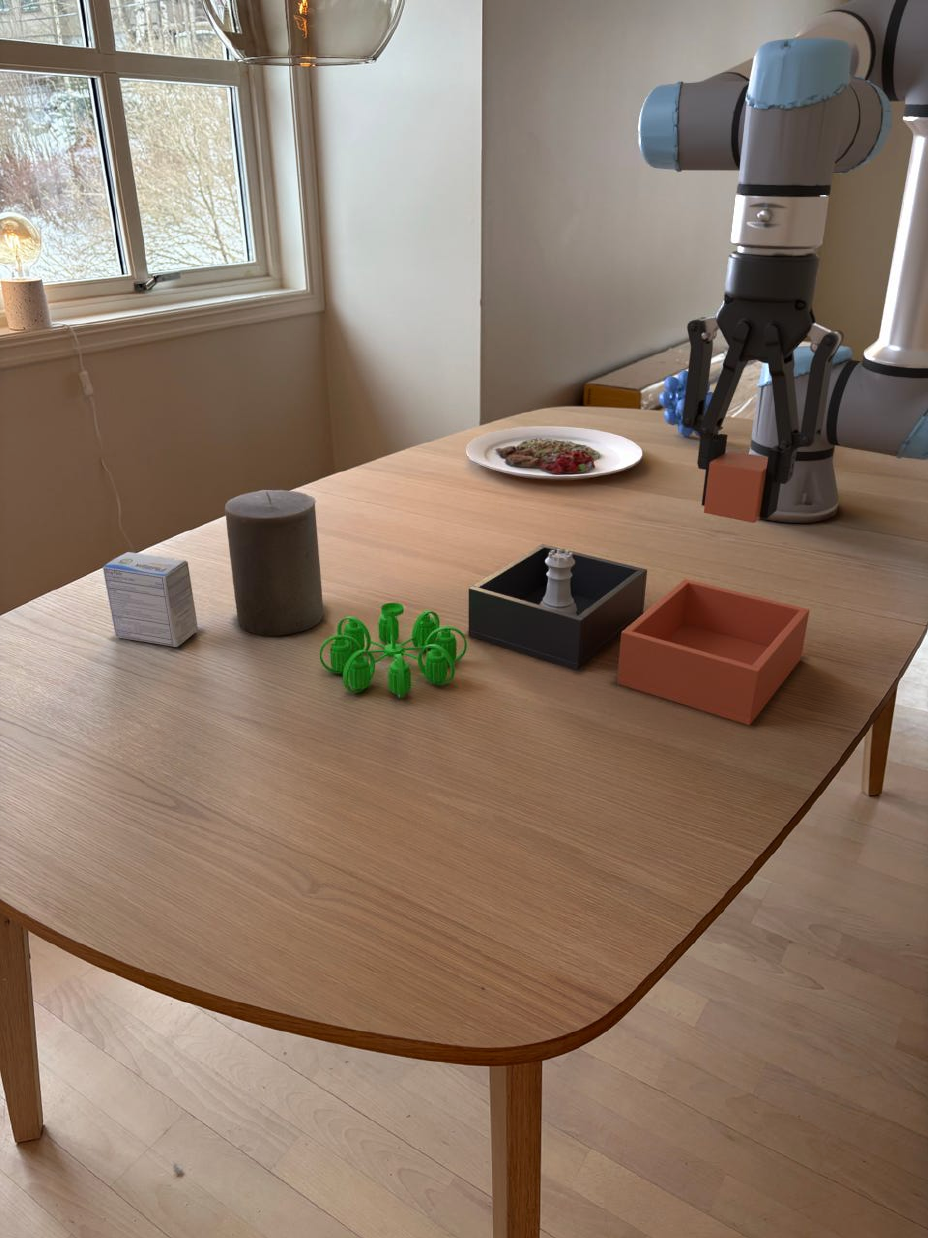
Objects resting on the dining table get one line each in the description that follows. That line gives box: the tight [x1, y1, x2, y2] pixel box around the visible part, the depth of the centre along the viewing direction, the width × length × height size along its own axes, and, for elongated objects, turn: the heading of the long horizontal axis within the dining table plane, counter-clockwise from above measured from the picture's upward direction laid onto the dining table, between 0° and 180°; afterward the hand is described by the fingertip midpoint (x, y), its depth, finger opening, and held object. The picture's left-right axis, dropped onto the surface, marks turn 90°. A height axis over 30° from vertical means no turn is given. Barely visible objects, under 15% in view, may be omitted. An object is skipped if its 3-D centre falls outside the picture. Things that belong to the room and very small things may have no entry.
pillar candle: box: [224, 489, 324, 637], centre depth 105 cm, size 10×10×15 cm
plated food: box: [465, 425, 643, 481], centre depth 163 cm, size 30×30×3 cm
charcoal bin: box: [467, 543, 648, 672], centre depth 105 cm, size 16×14×6 cm
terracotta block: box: [703, 450, 768, 524], centre depth 91 cm, size 5×5×5 cm
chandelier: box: [319, 602, 468, 699], centre depth 96 cm, size 15×15×7 cm
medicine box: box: [102, 551, 199, 648], centre depth 102 cm, size 8×4×9 cm, turn 71°
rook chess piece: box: [539, 548, 577, 616], centre depth 104 cm, size 4×4×8 cm
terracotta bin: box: [616, 578, 811, 726], centre depth 96 cm, size 16×14×6 cm
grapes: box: [658, 369, 714, 438], centre depth 173 cm, size 12×7×12 cm, turn 59°
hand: (738, 507), depth 92 cm, fingers closed on terracotta block, 5 cm apart
